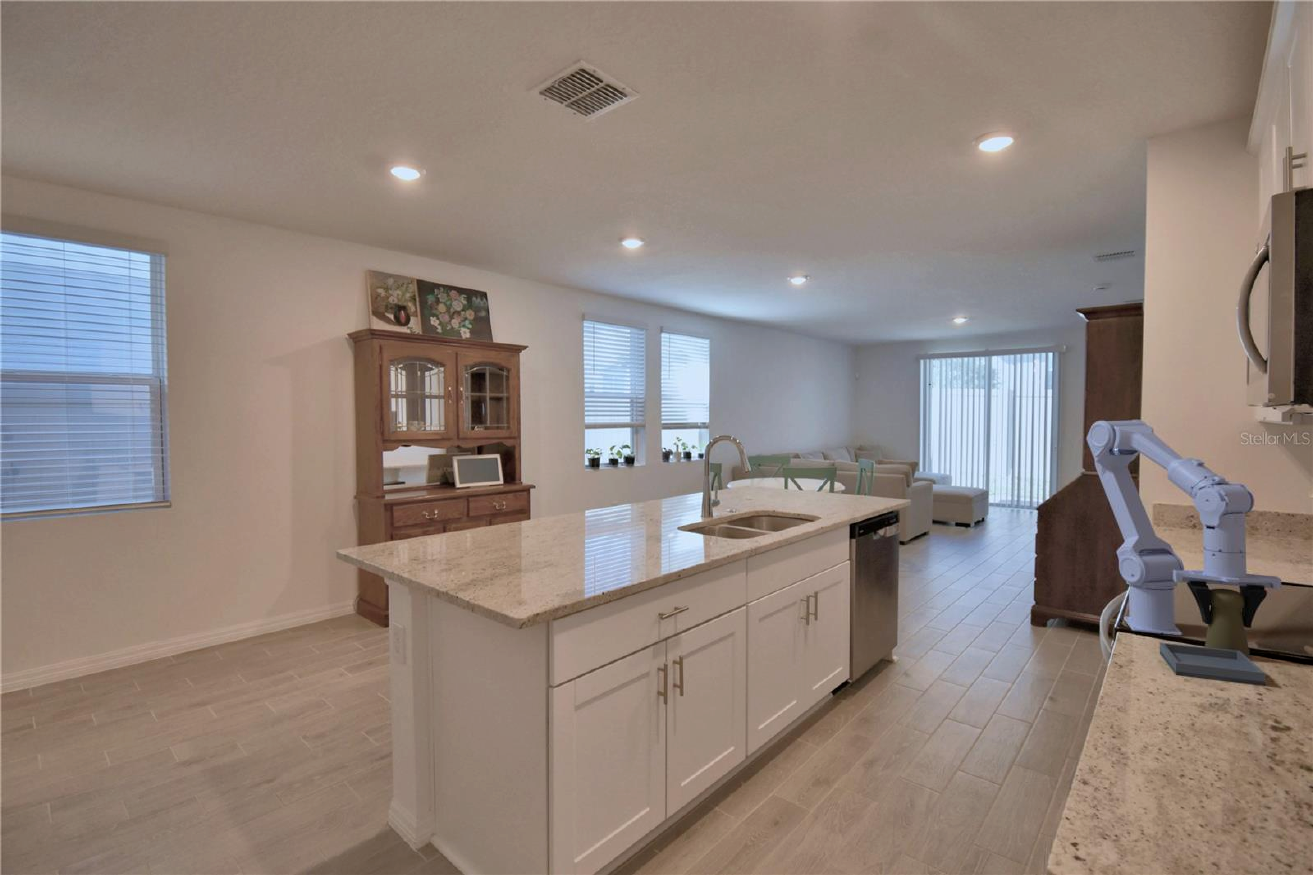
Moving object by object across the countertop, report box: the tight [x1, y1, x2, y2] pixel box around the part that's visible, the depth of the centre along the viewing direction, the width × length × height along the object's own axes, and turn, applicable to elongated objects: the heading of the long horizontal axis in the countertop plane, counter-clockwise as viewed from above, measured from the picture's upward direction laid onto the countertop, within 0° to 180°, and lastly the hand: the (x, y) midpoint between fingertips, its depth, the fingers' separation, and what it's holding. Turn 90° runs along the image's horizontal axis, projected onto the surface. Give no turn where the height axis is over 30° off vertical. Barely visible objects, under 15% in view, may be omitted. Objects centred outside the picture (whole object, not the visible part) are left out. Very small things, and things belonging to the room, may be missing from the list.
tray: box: [1159, 642, 1266, 687], centre depth 106 cm, size 11×11×2 cm
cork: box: [1204, 588, 1250, 657], centre depth 113 cm, size 6×6×11 cm
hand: (1226, 624), depth 113 cm, fingers closed on cork, 5 cm apart
